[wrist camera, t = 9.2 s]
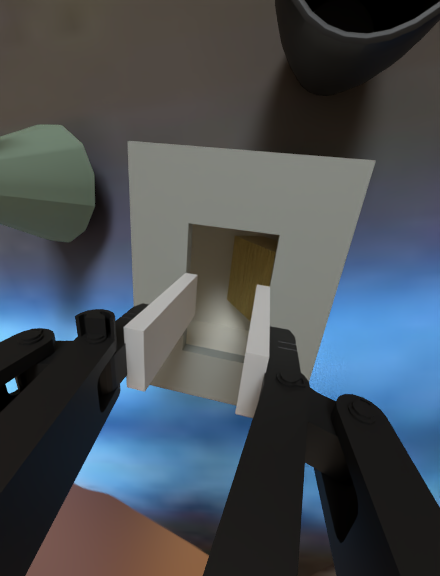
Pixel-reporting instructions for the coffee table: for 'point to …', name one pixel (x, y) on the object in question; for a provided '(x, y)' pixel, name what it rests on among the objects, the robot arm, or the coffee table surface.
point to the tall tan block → (250, 270)
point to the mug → (349, 38)
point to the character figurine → (45, 183)
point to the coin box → (220, 240)
